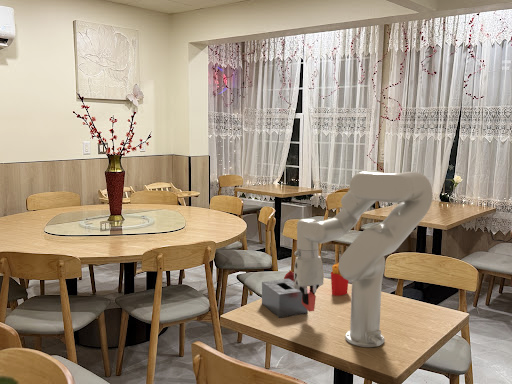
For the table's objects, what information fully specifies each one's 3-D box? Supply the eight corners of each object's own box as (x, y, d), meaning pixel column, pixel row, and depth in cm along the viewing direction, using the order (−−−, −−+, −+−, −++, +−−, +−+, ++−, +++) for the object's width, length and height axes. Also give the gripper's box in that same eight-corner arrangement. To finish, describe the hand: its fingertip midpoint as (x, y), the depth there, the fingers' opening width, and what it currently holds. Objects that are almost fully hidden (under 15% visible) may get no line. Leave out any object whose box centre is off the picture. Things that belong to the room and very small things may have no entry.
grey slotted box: (307, 313, 188) (308, 290, 186) (279, 317, 183) (279, 294, 182) (288, 299, 202) (288, 278, 201) (261, 303, 198) (262, 282, 196)
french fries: (335, 296, 206) (335, 266, 205) (328, 293, 210) (329, 264, 208) (351, 293, 211) (352, 263, 210) (344, 290, 215) (345, 261, 213)
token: (314, 310, 178) (315, 296, 176) (309, 311, 177) (310, 296, 175) (306, 302, 183) (307, 288, 181) (301, 303, 182) (302, 288, 180)
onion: (298, 286, 220) (298, 268, 219) (295, 290, 215) (296, 272, 214) (285, 285, 222) (285, 267, 221) (282, 288, 216) (282, 271, 215)
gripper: (293, 258, 171) (294, 309, 173) (332, 253, 177) (332, 303, 179) (283, 253, 178) (284, 303, 179) (321, 249, 184) (322, 297, 185)
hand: (308, 302), depth 179 cm, fingers closed on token, 1 cm apart
